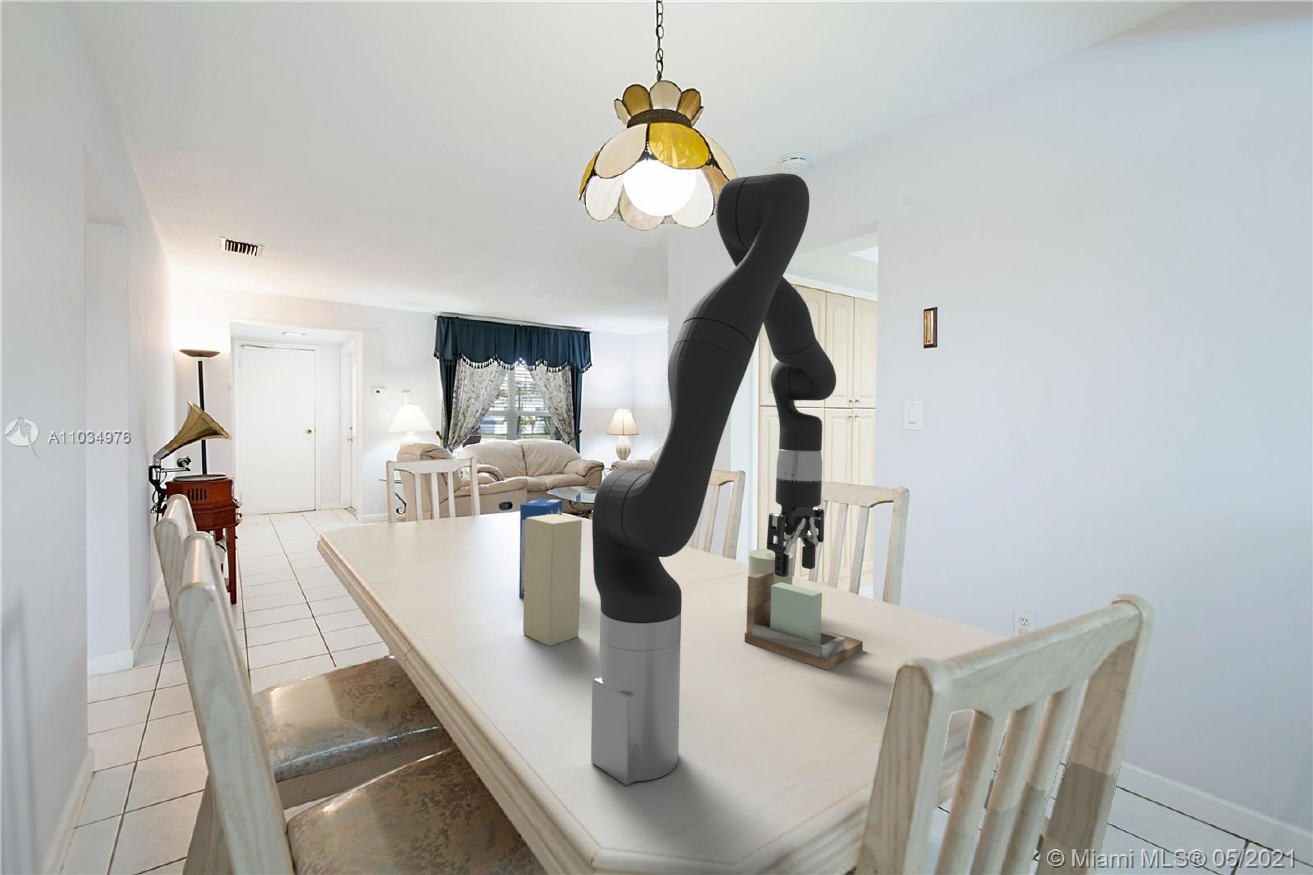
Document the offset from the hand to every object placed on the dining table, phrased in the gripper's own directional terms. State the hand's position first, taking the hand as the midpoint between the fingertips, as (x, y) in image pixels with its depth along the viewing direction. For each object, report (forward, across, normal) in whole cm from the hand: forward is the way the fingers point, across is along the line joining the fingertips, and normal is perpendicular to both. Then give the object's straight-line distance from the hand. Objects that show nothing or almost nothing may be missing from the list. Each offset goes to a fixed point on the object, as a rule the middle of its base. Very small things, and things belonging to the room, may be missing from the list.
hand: (795, 572), depth 101 cm
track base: (+13, +3, 0) cm, 14 cm away
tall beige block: (+14, -26, +33) cm, 44 cm away
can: (+13, +15, +15) cm, 25 cm away
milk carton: (+14, -13, +56) cm, 59 cm away
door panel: (+12, 0, 0) cm, 12 cm away
